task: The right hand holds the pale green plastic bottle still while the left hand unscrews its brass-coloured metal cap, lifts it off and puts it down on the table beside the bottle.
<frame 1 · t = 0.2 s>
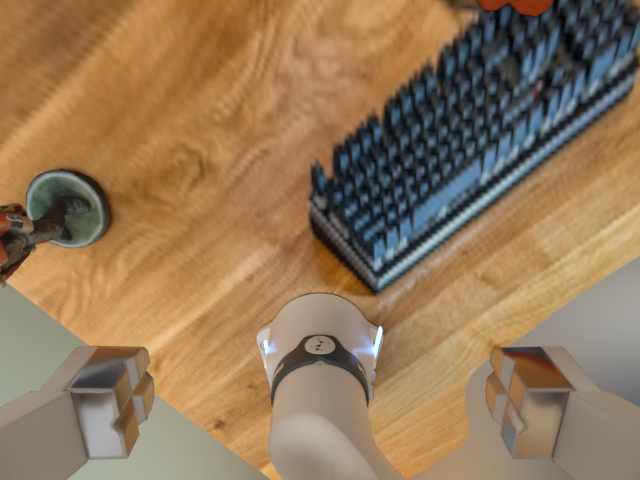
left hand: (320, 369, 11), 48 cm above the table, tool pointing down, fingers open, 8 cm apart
figurine: (72, 206, 59), on the table
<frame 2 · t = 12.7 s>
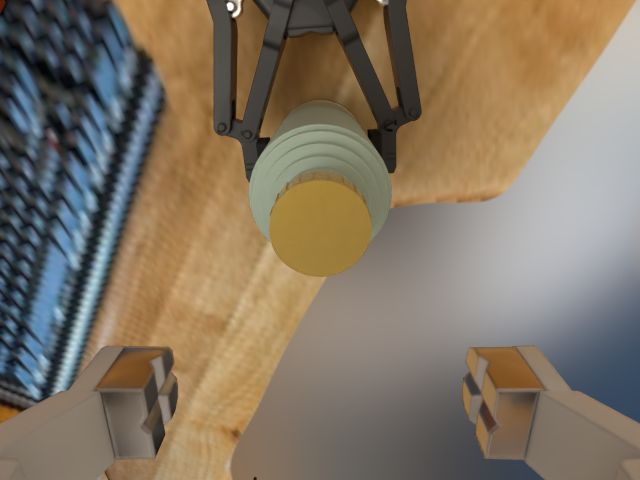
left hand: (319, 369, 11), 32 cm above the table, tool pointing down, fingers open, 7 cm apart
bottle: (320, 144, 40), on the table, touching right hand
cap: (320, 228, 20), point 22 cm above the table, screwed on, not yet turned
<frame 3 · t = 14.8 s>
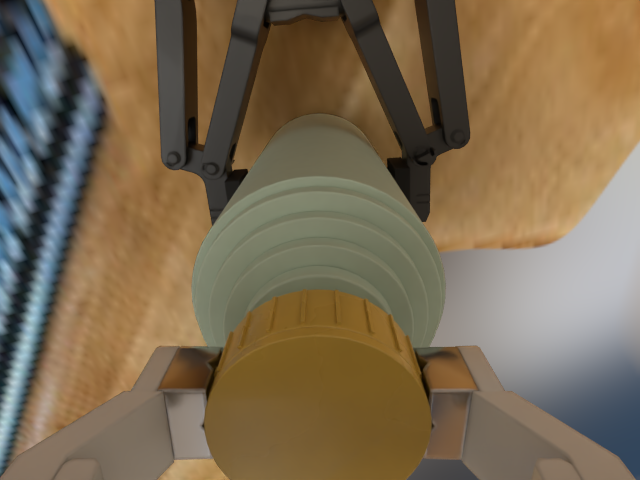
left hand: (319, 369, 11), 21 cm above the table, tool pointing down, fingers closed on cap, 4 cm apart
bottle: (319, 173, 30), on the table, touching right hand
cap: (317, 421, 9), point 22 cm above the table, screwed on, not yet turned, touching left hand
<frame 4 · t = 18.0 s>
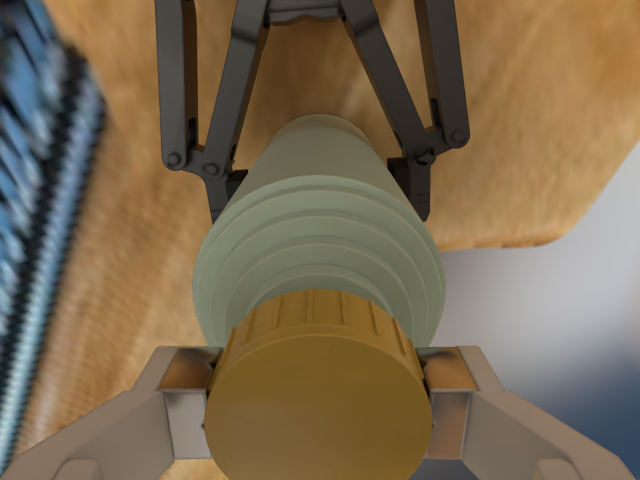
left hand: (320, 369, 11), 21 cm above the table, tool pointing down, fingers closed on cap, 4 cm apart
bottle: (319, 173, 30), on the table, touching right hand
cap: (318, 421, 9), point 22 cm above the table, turned 83° so far, risen 0.1 cm, still on its thread, touching left hand
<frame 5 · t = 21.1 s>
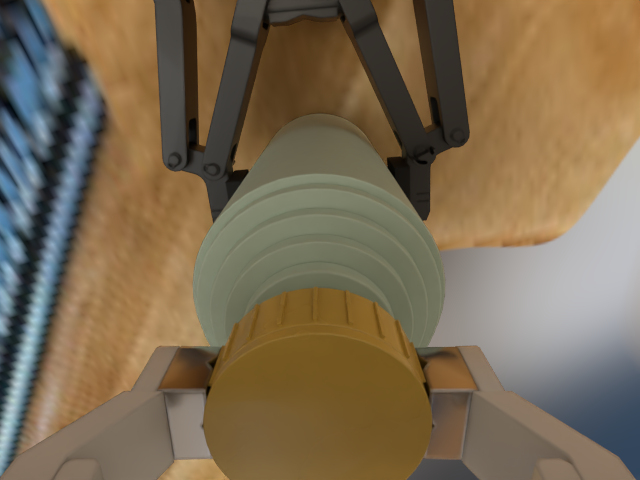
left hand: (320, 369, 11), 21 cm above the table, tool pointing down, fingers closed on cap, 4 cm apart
bottle: (320, 173, 30), on the table, touching right hand
cap: (317, 420, 9), point 23 cm above the table, turned 165° so far, risen 0.1 cm, still on its thread, touching left hand
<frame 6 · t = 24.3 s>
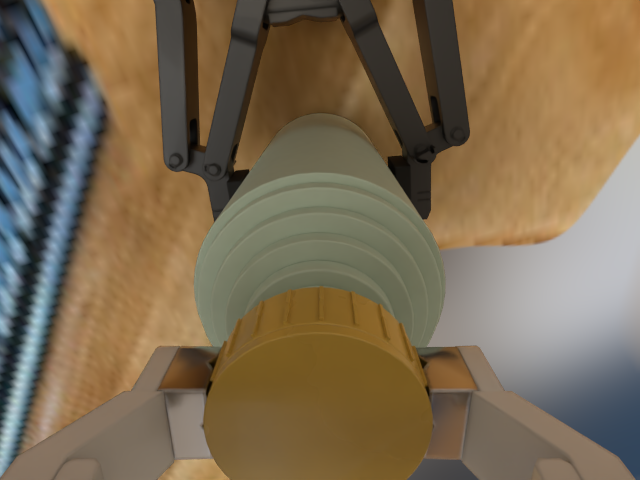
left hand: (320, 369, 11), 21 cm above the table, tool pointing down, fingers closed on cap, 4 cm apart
bottle: (321, 172, 30), on the table, touching right hand
cap: (318, 419, 9), point 23 cm above the table, turned 247° so far, risen 0.2 cm, still on its thread, touching left hand
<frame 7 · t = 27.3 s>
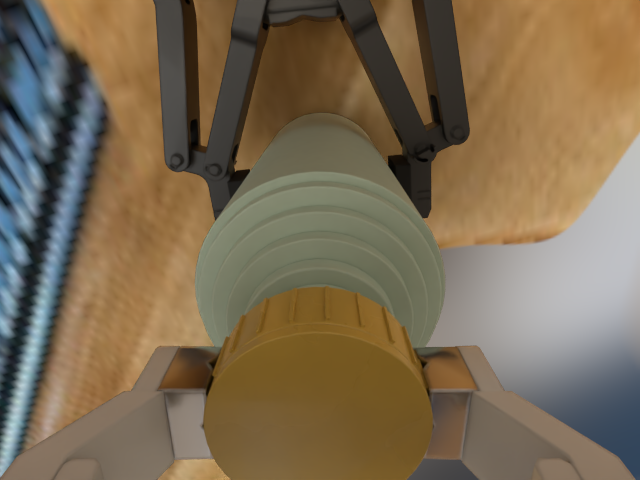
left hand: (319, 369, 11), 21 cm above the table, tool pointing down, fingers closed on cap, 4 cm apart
bottle: (321, 172, 30), on the table, touching right hand
cap: (318, 419, 9), point 23 cm above the table, turned 330° so far, risen 0.3 cm, still on its thread, touching left hand
when the left hand's fingers open (2 cm above the table, at t = 36.0 s): cap drops 2 cm, point 1 cm above the table.
when the right hand's fingers open (6 cm above the table, at t = 37.1 s): bottle stays where it is, on the table.
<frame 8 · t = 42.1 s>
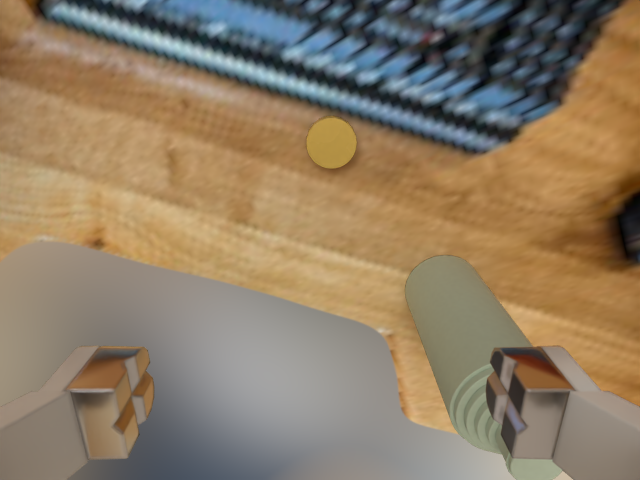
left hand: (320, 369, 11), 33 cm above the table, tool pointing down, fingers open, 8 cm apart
bottle: (441, 288, 47), on the table
cap: (331, 143, 40), point 1 cm above the table, off its thread
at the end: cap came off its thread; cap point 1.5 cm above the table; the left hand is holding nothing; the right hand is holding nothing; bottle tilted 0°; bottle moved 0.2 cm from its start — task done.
